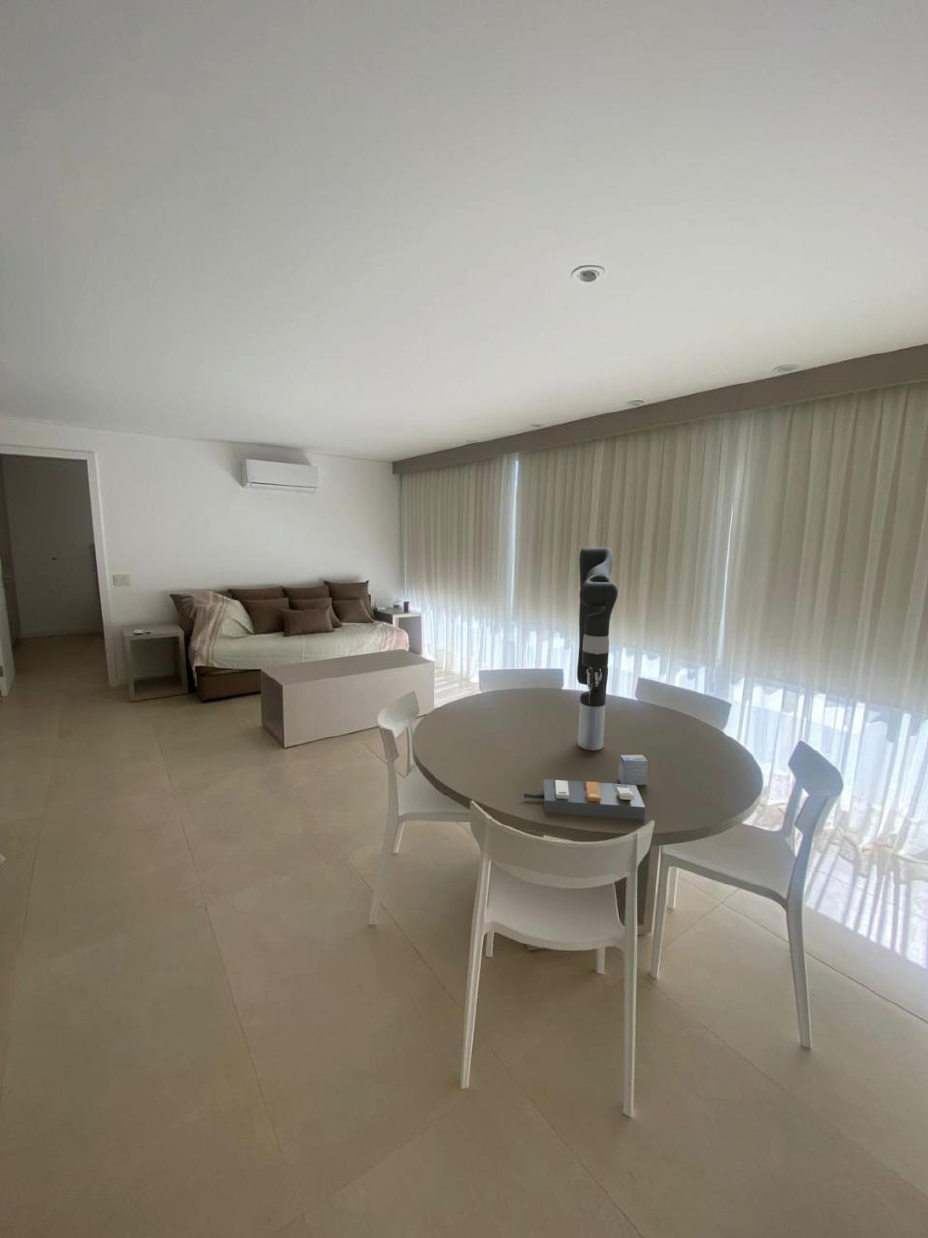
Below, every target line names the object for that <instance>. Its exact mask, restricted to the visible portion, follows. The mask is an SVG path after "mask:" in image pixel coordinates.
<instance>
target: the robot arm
mask: <svg viewBox="0 0 928 1238" xmlns="http://www.w3.org/2000/svg"><path fill="white" fill-rule="evenodd" d="M578 560H579V587H580V589H579V609H578V610H579V613H578V617H579V618H578V627H579V628H578V634H579V635H578V636H579V637H578V638H579V639H578V641H579V642H578V657H577V668H576V677H577V682H578V684H580V685H584V686H585V685H586V686H587V687H588V688H587V690H588V691H584V692H583V693H581V694H580V695H579V715H578V717H579V718H578V719H579V720H578V736H577V737H578V738H577V740H578V741H577V746H579V747H580V748H581V749H583V750H587V751H600V750H601V749H602V748H603V747H604V733H605V718H606V717H605V716H606V700H607V699H606V697H607V686H608V678H609V665H608V664H609V654H610V653H609V652H610V648H609V647H610V621H611V617H612V613H613V609H614V607H615V604H616V602H617V598H618V595H619V591H618V588H617V585H615V583H614V582H611V578H610V576H611V573H612V568H613V562H614V561H613V560H614V559H613V552H612V550H611V549H610V548H609V547H605V546H604V547H602V546H601V547H597V546H596V547H582V548H581V550H580V552H579V559H578Z"/></svg>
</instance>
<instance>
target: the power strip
mask: <svg viewBox="0 0 928 1238" xmlns="http://www.w3.org/2000/svg"><path fill="white" fill-rule="evenodd" d="M555 780H556V779H546V778H544V779H543V781H542V782H543V785H542V787H543V789H542V794H538V793H526V792H525V793H523V797H524V798H527V799H537V800H538V799H541V800H543V807H544V810H543V811H544V813H545V814H556V815H557V814H558V815H571V816H585V817H599V818H612V819H624V820H641V821H644V820H645V814H646V806H645V804H644V801H643V799H642V796H641V794H640V791H639V789H638V787H637V785H626V784H621V783H609V782H607V783H606V782H598V783H599V789H600V795H601V802H598V801H588V799H587V791H586V782H587V781H578V780H577V781H576V780H567V781H568V790H569V799H562V798H556V789H555ZM563 781H565V780H563ZM617 787H619V788H629V789H630V790H631V792H632V793H633V795H634V800H627V799H620V797H619V796H618V794H617V792H616V791H617Z"/></svg>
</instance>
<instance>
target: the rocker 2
mask: <svg viewBox="0 0 928 1238" xmlns="http://www.w3.org/2000/svg"><path fill="white" fill-rule="evenodd" d="M585 782H586V791H587V799H588V801H598V802H601V795H600V789H599V783H600V782H598V781H585Z"/></svg>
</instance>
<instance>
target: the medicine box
mask: <svg viewBox="0 0 928 1238" xmlns="http://www.w3.org/2000/svg"><path fill="white" fill-rule="evenodd" d="M618 762H619V763H618V774H617V775H618V776H617V778H618V781H619V782H620V784H626V785H636V786H647V779H648V771H649V770H648V767H649V761H648V760H647V758H646V757H645V756H644V755H643V754H622V755H621V754H620V755H619V760H618Z"/></svg>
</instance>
